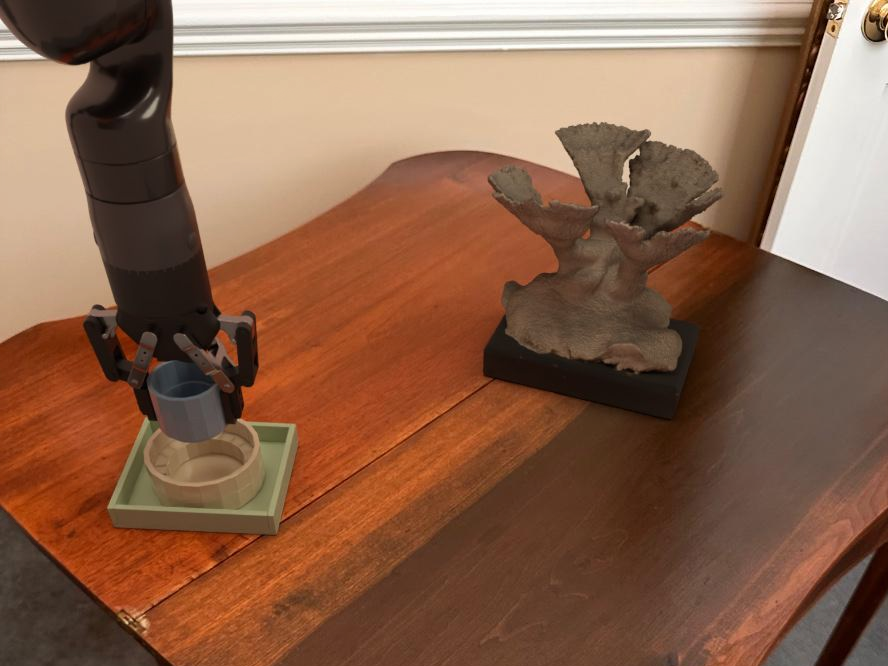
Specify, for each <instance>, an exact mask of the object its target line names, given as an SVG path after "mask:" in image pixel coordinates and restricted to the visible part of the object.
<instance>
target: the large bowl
mask: <svg viewBox="0 0 888 666" xmlns="http://www.w3.org/2000/svg"><path fill="white" fill-rule="evenodd" d="M247 422H248V421H246V420H244V419H242V417H241V418H240V419H237V422H236V424H235V425H234V424H228V426H227V427H226V428H225V429H224V430H223V431H222V432H221V433H220V434H219V435H217V436H216V437H214V438H212V439H209V440H207V441H203V442H197V443H186V442H181V441H177V440H175V439H172V438H169V437H168V436H167V435H166V434H164V433H163V432H162V431H161V429H160V428H159V429H157V431H156V432H155V433H154V434H153V435H152V436H151V437H150V438H149V440H148V441H147V444H146V446H145V449H144V463H145V466H146V469H147V472H148V475H149V478H150V481H151V484H152V487H153V491H154V494H155V495H156V497H157V498H158V500H159V501H160V503H161V504H162V505H164V506H165V507H184V508H206V509H227V510H236V509H238V508H241V507H242V506H243V505H245V504H246V503H248V502H249V501H250V500H252V499H253V498H254V497H255V496H256V495H257V493H258V492H259V491H260V489H261V488H262V486H263V482H264V478H265V469H264V464H263V458H262V453H261V448H260V443H259V438H258V434H257V432H256V431H255V430H254V429H253V427H252V426H251V425H250V424H249V423H247Z"/></svg>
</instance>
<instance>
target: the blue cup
mask: <svg viewBox="0 0 888 666" xmlns="http://www.w3.org/2000/svg"><path fill="white" fill-rule="evenodd" d="M146 382H147V386H148V390H149V393H150V397H151V400H152V403H153V407H154V410H155V413H156V417H157V420H158V424H159V427H160V429H161V431H162V432H163V433H164V434H166V435H167V436H168V437H169V438H172V439H175V440H177V441H181V442H186V443H197V442H203V441H207V440H209V439H212V438H214V437H216V436H217V435H219V434H220V433H221V432H222V431H223V430H224V429H225V428H226V427H227V426H228V424H227V423H226V418H225V414H224V409H223V405H222V400H221V396H220V391H221V388H220V387H219V386H218V385H217V383H216V382H215V381H214V380H213V379H212V378H211V376H209V375H205V374H204V373H203V372H202V371H201V370H200V368H199V367H198V366H197V365H196V364H195V363H185V362H181V361H177V360H173V361H168V362H161V363H158V364H157V365H156V366H155V367H154V368H153V369H151V370H150V371H149V376H148V378H147V380H146Z"/></svg>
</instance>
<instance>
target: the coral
mask: <svg viewBox="0 0 888 666" xmlns="http://www.w3.org/2000/svg"><path fill="white" fill-rule="evenodd" d="M554 135H556V137H557V138H558V140H559V141H560V143H561V145H562V146H563V149H564V151H565V152H566V153H567V155H568V156H569V158H570V160H571V161H572V165H573V167H574V168H575V169H576V171H577V174H578V176H579V178H580V181H581V183H582V186H583V189H584V193H585V194H586V196H587V198H588V200H589V202H590V206H587V205H582V204H577V203H573V202H570V203H568V202H564V201H563V202H561V200H559V199H555V198H553V199H549V200H548V203H547V204H548V205H549V206H546V205H545V206H544V203H543V200H542V194H541V192H539V191H538V190H537V189H536V188H535V187H534V185H533V180H532V179H533V178H532V176H531V175H530V174H529V173H528V170H527V169H526V168H525V167H523V168H521V166H520V165H507V166H501V167H500V168H499V169H497V170H494V171H492V172H491V173H490V174H488V175H487V183H488V184H489V185H490V187H491V188H492V190H493V192H492V194H491V197H492V198H493V199H494V200H496V201H497V202H498V203H499V204H500V205H501V206H502V207H503V208H505V209H506V210H507V211H508V212H509V213H510V214H512V215H513V216H514V217H515V218H517V220H519V222H520V223H521V224H522V225H524V226H525V227H527V228H528V230H529V231H531V232H533V233H534V234H535V235H537V236H541V238H543V240H545V242H546V243H548V244H549V246H550V247H551V248H552V250H553V253H554V256H555V257H556V258H557V262H558V267H557V271H556V272H541V273H538V275H536V276H535V277H534V278H533V279H532V280H531V281H529V282H528V283H526V284H525V285H523V284H520V283H519V282H517V281H516V280H513V279H512V280H509V281H505V282H504V284H503V289H502V293H501V298H500V303H501V306H502V307H503V309H504V311H505V312H504V314H503V316H502V317H501V319H500V321H499V322H498V324H497V325H496V328H495V329H494V331H493V333H492V334H491V336H490V337H489V339H488V341H487V342H486V344H485V347H484V348H483V359H482V361H483V363H482V374H483V375H484V376H487V377H491V378H496V379H499V380H504V381H508V382H512V383H516V384H521V385H524V386H528V387H533V388H536V389H537V388H538V389H540V390H545V391H548V392H554V393H557V394H561V395H566V396H570V397H573V398H574V397H575V398H579V399H582V400H587V401H589V402H590V401H591V402H595V403H598V404H599V403H600V404H603V405H607V406H611V407H615V408H620V409H622V410H623V409H624V410H627V411H632V412H637V413H640V414H645V415H648V416H654V417H657V418H662V419H667V420H673V418H674V415H675V412H676V409H677V406H678V403H679V400H680V397H681V394H682V391H683V387H684V385H685V381H686V378H687V375H688V372H689V369H690V367H691V363H692V361H693V357H694V353H695V350H696V346H697V343H698V338H699V335H700V332H701V331H700V330H701V326H700V325H699V324H697V323H696V322H695V323H694V322H689V321H684V320H680V319H675V318H671V315H672V310H673V306H672V304H670V303H669V302H667V300H666V299H665V298H664V297H663V295H662V294H661V292H659V291H657V290H656V289H653V288H652V287H649V286H647V281H648V279H649V272H648V271H649V270H650V269H652V268H654V267H655V266H658V265H659V266H660V265H661V264H665V263H666V262H668V261H670V260H673V259H675V258H677V257H678V256H679V255H681V254H682V253H683V252H686V251H687V250H689V249H691V248H692V247H694V246H696V245H699V244H701V243H702V242H704V241H705V240H707V239H708V238H709V237H710V234H711V230H702V229H700V230H696V229H694V228H693V227H692V226H688V227H683V226H684V225H685V224H686V223H688V222H689V221H691V220H693V218H694V217H696V216H698V215H700V214H702V213H703V212H706V211H707V210H708V209H709V208H710V207H712V206H713V205H714V204H715V203H716V202H718V201H720V200H722V198H723V197H724V196H725V191H724V190H723V188H722V187H717V186H716V187H715V188H713V189H711V188H712V186H714V185H715V184H717V182H719V180H720V178H719V177H720V175H719V172H718V171H717V170H716V169H713V166H712V165H711V164H710V161H708V160H706V159H705V157H702V156H701V155H700V154H698V153H697V152H696V150H693V149H690V148H684V149H683V148H682V147H677V146H676V145H673V144H669V145H668V144H667V143H664V142H663V141H660V140H651V139H649V138H650V137H651V136H652V132H651V130H650V129H647V128H644V129H643V130H642V129H641V130H637V129H630V128H629V127H627V126H624V125H618V126H617V125H616V124H615V123H612V124H611V123H608V122H606V121H605V122H603V121H601V122H600V123H599V124H598V122H596V121H592V123H589V122H587V123H584V124H581V123H578V124H576V125H573V124H572V125H569V126H567V127H566V126H564V127H560V128H559V129H556V130H555V131H554ZM648 139H649V140H648ZM636 151H639V154H636V155H635V157H634V158H630V157H631V156H632V155H634V153H635V152H636ZM628 159H629V160H628ZM627 160H628V171H629V175H628V178H629V184H628V182H627V181H624V180H623V175H624V167H625V163H626V162H627ZM680 227H682V228H681V229H679V228H680ZM675 230H676V231H675ZM588 231H589V236H588V237H587V238H583V237H584V236H585V235H586V233H587V232H588Z"/></svg>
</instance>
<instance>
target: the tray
mask: <svg viewBox="0 0 888 666" xmlns="http://www.w3.org/2000/svg"><path fill="white" fill-rule="evenodd" d="M246 422H247V423H249V424H250V425H251V426H252V427H253V429H254V430H255V431H256V432H257V434H258V438H259V443H260V448H261V453H262V458H263V464H264V469H265V478H264V482H263V486H262V488H261V489H260V491H259V492H258V493H257V495H256V496H255V497H254V498H253V499H252V500H250V501H249V502H248V503H246V504H245V505H243V506H242V507H241V508H238V509H236V510H227V509H206V508H184V507H165V506H164V505H162V504H161V503H160V501H159V500H158V498H157V497H156V495H155V494H154V491H153V487H152V484H151V481H150V478H149V475H148V472H147V469H146V466H145V463H144V449H145V446H146V444H147V441H148V440H149V438H150V437H151V436H152V435H153V434H154V433H155V432H156V431H157V429H159V428H160V427H159V424H158V421H149V420H148V417H147V416H144V420H143V422H142V424H141V426H140V429H139V432H138V434H137V437H136V438H135V441H134V443H133V445H132V449H131V450H130V453H129V455H128V458H127V459H126V462H125V465H124V466H123V469H122V472H121V473H120V477H119V479H118V481H117V483H116V486H115V488H114V491H113V493H112V495H111V498H110V500H109V503H108V504H107V507H106V510H107V512H108V514H109V517H110V520H111V523H112V525H113V528H116V529H117V528H121V529H139V530H140V529H141V530H159V531H160V530H162V531H184V532H203V533H205V532H206V533H225V534H227V533H228V534H245V535H246V534H247V535H248V534H249V535H267V536H268V535H269V536H277V535H278V533H279V528H280V523H281V519H282V515H283V511H284V506H285V502H286V498H287V493H288V489H289V485H290V481H291V476H292V472H293V468H294V464H295V459H296V457H297V452H298V447H299V436H298V428H297V423H288V422H267V421H266V422H265V421H263V422H262V421H246Z"/></svg>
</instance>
